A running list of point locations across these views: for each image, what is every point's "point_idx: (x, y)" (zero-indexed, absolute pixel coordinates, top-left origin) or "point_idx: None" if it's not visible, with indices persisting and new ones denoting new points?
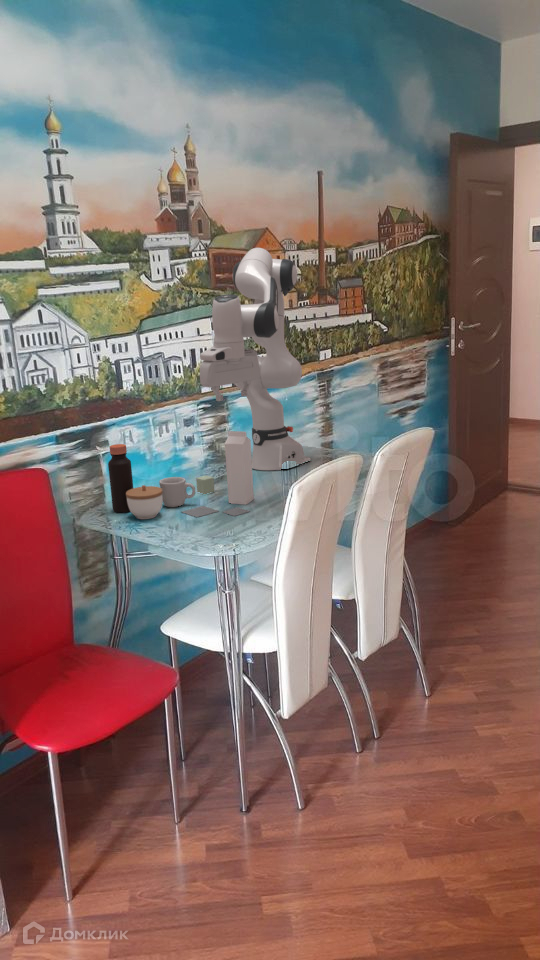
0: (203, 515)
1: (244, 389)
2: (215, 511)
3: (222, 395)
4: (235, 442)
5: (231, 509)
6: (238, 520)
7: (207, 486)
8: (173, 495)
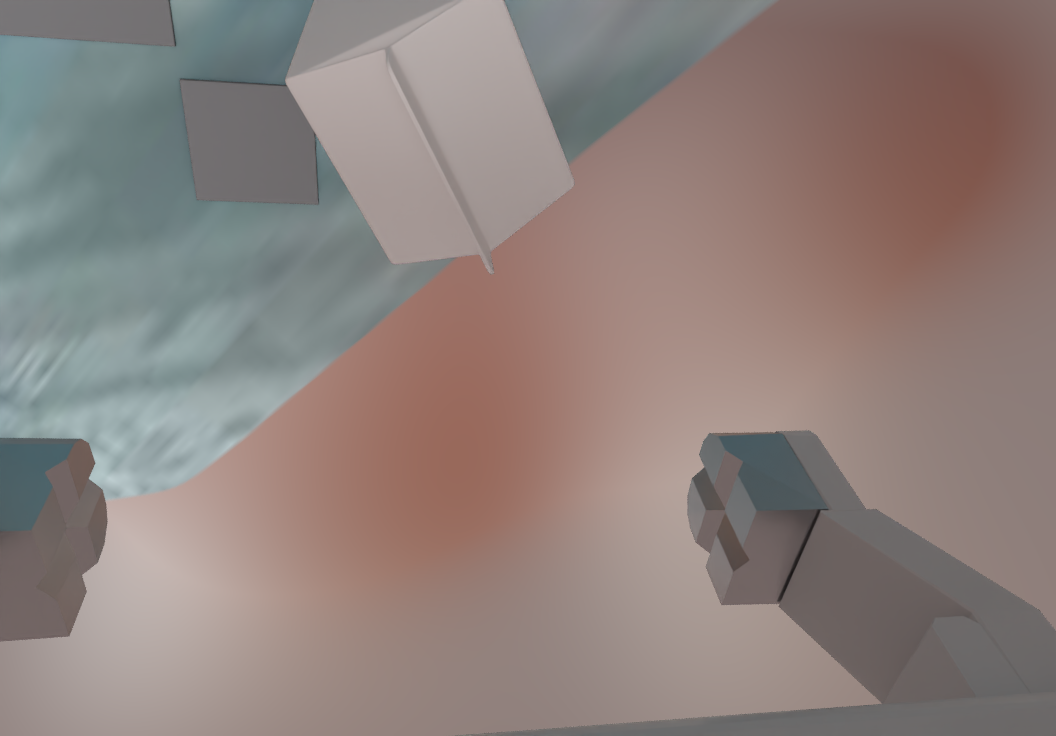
0: (41, 35)
1: (814, 563)
2: (149, 40)
3: (51, 624)
4: (365, 187)
5: (253, 93)
6: (176, 264)
7: None
8: None
